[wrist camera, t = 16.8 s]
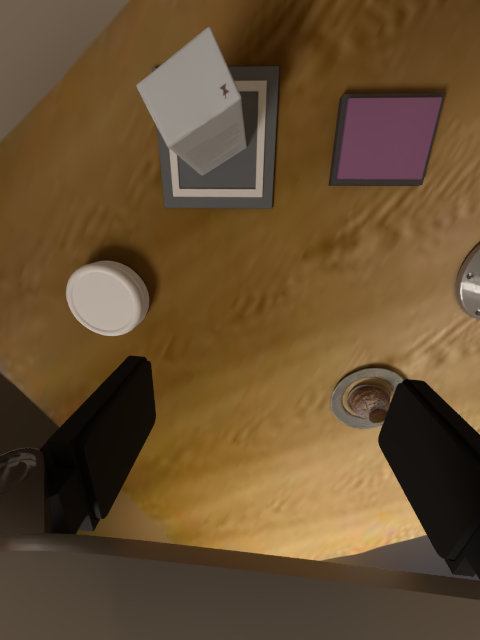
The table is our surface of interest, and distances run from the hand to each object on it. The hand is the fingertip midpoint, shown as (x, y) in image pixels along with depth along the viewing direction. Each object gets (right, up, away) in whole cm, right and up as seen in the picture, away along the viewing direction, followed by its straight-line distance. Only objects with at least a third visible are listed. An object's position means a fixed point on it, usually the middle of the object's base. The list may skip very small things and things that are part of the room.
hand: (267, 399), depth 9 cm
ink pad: (+14, +22, +18) cm, 32 cm away
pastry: (+19, -9, +31) cm, 37 cm away
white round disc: (-19, +7, +26) cm, 33 cm away
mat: (-4, +23, +18) cm, 29 cm away
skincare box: (-4, +23, +18) cm, 29 cm away
